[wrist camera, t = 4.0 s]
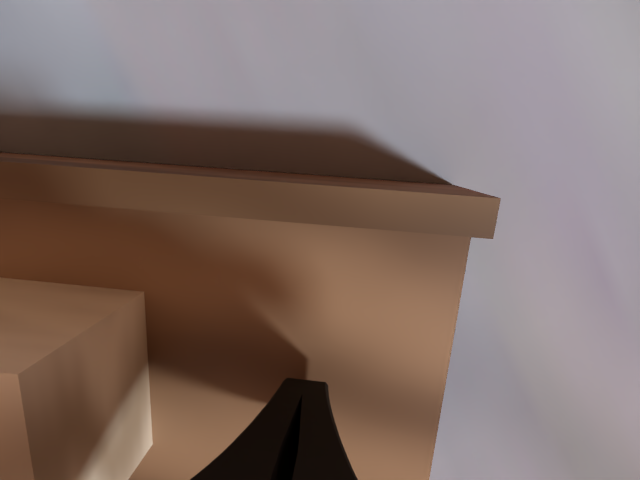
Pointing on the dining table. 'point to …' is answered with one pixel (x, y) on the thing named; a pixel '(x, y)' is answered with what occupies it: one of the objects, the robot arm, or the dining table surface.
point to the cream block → (72, 382)
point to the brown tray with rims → (261, 292)
